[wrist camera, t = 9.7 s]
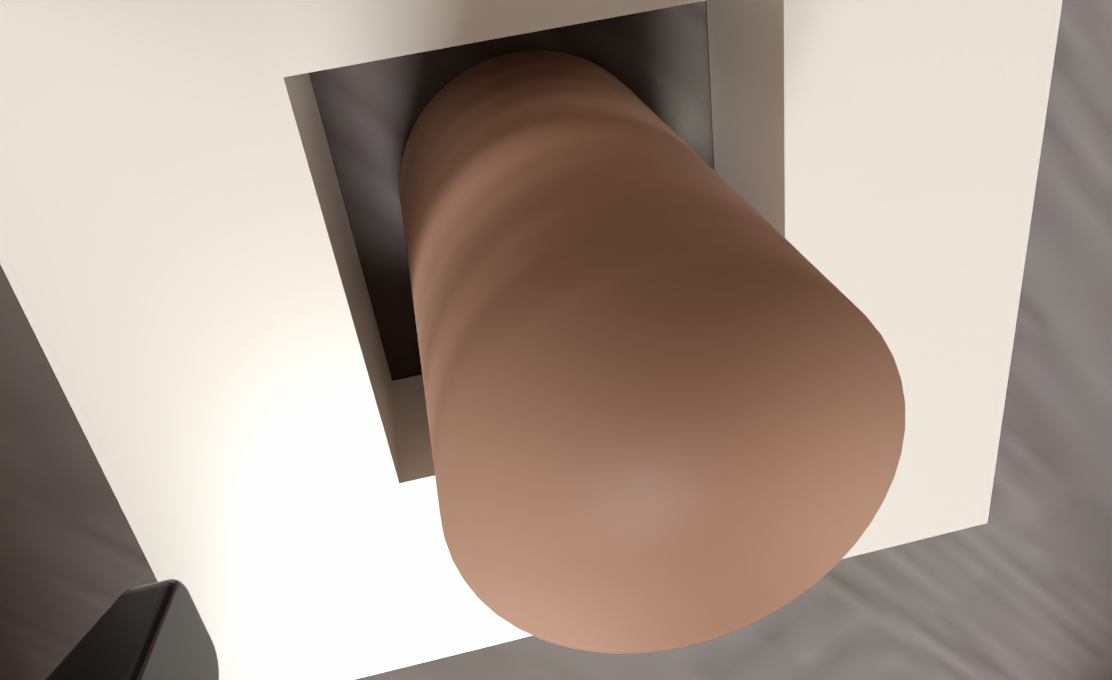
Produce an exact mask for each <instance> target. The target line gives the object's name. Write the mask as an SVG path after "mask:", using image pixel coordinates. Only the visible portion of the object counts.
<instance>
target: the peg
mask: <svg viewBox="0 0 1112 680" xmlns="http://www.w3.org/2000/svg"><path fill="white" fill-rule="evenodd" d="M399 181H400V201H401V208H402V216H403V224H404V232H405V240H406V248H407V256H408V264H409V272H410V280H411V288H412V296H413V304H414V312H415V320H416V328H417V336H418V344H419V352H420V360H421V368H422V376H423V384H424V392H425V400H426V408H427V416H428V424H429V432H430V440H431V447H432V455H433V463H434V471H435V479H436V487H437V495H438V503H439V511H440V517H441V523H442V529H443V535H444V538H445V541H446V544H447V547H448V550H449V552H450V555H451V558H452V560H453V562H454V564H455V566H456V567H457V569H458V571H459V573H460V574H461V576H462V578H463V580H464V581H465V582H466V584H467V585H468V586H469V587H470V588H471V590H472V591H473V592H474V593H475V595H476V596H477V597H478V598H479V599H480V600H481V601H482V602H483V603H484V604H485V605H486V606H488V607H489V608H490V609H491V610H492V611H493V612H494V613H495V614H497V615H498V616H500V617H501V618H503V619H504V620H506V621H507V622H509V623H510V624H512V625H513V626H515V627H516V628H518V629H520V630H522V631H525V632H527V633H529V634H531V635H533V636H535V637H537V638H539V639H543V640H546V641H549V642H552V643H555V644H558V645H561V646H565V647H570V648H575V649H580V650H585V651H592V652H604V653H645V652H654V651H663V650H670V649H675V648H680V647H685V646H689V645H694V644H697V643H701V642H704V641H707V640H711V639H714V638H717V637H721V636H723V635H726V634H728V633H731V632H733V631H736V630H738V629H741V628H743V627H746V626H748V625H750V624H752V623H754V622H756V621H758V620H760V619H762V618H764V617H766V616H768V615H770V614H771V613H773V612H775V611H776V610H778V609H779V608H781V607H783V606H784V605H786V604H788V603H789V602H791V601H792V600H794V599H795V598H797V597H798V596H799V595H801V594H802V593H803V592H805V591H806V590H807V589H809V588H810V587H811V586H813V585H814V584H815V583H817V582H818V581H819V580H820V579H821V578H822V577H823V576H824V575H826V574H827V573H828V572H829V571H830V570H831V569H832V568H833V567H834V566H836V565H837V564H838V562H839V561H840V560H841V559H842V558H843V557H844V556H845V555H846V554H847V553H848V551H849V550H850V549H851V548H852V547H853V546H854V545H855V544H856V542H857V541H858V540H859V538H860V537H861V536H862V534H863V533H864V532H865V530H866V529H867V528H868V526H869V525H870V523H871V522H872V520H873V518H874V517H875V515H876V513H877V512H878V510H879V508H880V507H881V505H882V503H883V501H884V499H885V497H886V495H887V493H888V490H889V488H890V486H891V484H892V481H893V479H894V477H895V473H896V470H897V466H898V463H899V460H900V456H901V453H902V446H903V440H904V433H905V399H904V393H903V387H902V381H901V377H900V374H899V371H898V369H897V366H896V363H895V360H894V357H893V355H892V353H891V351H890V350H889V348H888V346H887V344H886V342H885V340H884V339H883V337H882V335H881V334H880V333H879V331H878V330H877V329H876V328H875V326H874V325H873V324H872V323H871V321H870V320H869V319H868V318H867V317H866V315H865V314H864V313H863V312H862V311H861V310H860V309H858V308H857V307H856V306H855V305H854V304H853V303H852V302H851V301H850V300H849V299H848V298H847V297H846V296H845V295H844V294H843V293H842V292H841V291H840V290H839V289H838V288H837V287H836V286H834V285H833V284H832V283H831V282H830V281H829V280H828V279H827V278H826V277H825V276H824V275H823V274H822V273H821V272H820V271H819V270H818V269H817V268H816V267H815V266H814V265H813V264H811V263H810V262H809V261H808V260H807V259H806V258H805V257H804V256H803V255H802V254H801V253H800V252H799V251H798V250H797V249H796V248H795V247H794V246H793V245H792V244H791V243H790V242H789V241H787V240H786V239H785V238H784V237H783V236H782V235H781V234H780V233H779V232H778V231H777V230H776V229H775V228H774V227H773V226H772V225H771V224H770V223H769V222H768V221H767V220H766V219H765V218H763V217H762V216H761V215H760V214H759V213H758V212H757V211H756V210H755V209H754V208H753V207H752V206H751V205H750V204H749V203H748V202H747V201H746V200H745V199H744V198H743V197H742V196H741V195H739V194H738V193H737V192H736V191H735V190H734V189H733V188H732V187H731V186H730V185H729V184H728V183H727V182H726V181H725V180H724V179H723V178H722V177H721V176H720V175H719V174H718V173H717V172H715V171H714V170H713V169H712V168H711V167H710V166H709V165H708V164H707V163H706V162H705V161H704V160H703V159H702V158H701V157H700V156H699V155H698V154H697V153H696V152H695V151H694V150H692V149H691V148H690V147H689V146H688V145H687V144H686V143H685V142H684V141H683V140H682V139H681V138H680V137H679V136H678V135H677V134H676V133H675V132H674V131H673V130H672V129H671V128H670V127H668V126H667V125H666V124H665V123H664V122H663V121H662V120H661V119H660V118H659V117H658V116H657V115H656V114H655V113H654V112H653V111H652V110H651V109H650V108H649V107H648V106H647V105H646V104H644V103H643V102H642V101H641V100H640V99H639V98H638V97H637V96H636V95H635V94H634V93H633V92H632V91H631V90H630V89H629V88H628V87H627V86H626V85H624V84H623V83H622V82H621V81H620V80H619V79H618V78H617V77H615V76H614V75H613V74H611V73H610V72H608V71H607V70H605V69H604V68H602V67H601V66H599V65H597V64H594V63H592V62H590V61H588V60H586V59H584V58H581V57H577V56H574V55H571V54H568V53H562V52H556V51H549V50H527V51H518V52H511V53H507V54H503V55H499V56H495V57H493V58H490V59H488V60H485V61H483V62H480V63H478V64H476V65H474V66H472V67H470V68H469V69H467V70H465V71H463V72H462V73H460V74H459V75H457V76H456V77H455V78H454V79H452V80H451V81H450V82H448V83H447V84H446V85H445V86H444V87H443V88H442V89H441V90H440V91H439V92H438V93H437V94H436V95H435V96H434V97H433V98H432V99H431V100H430V102H429V103H428V104H427V105H426V107H425V108H424V109H423V111H422V112H421V114H420V115H419V117H418V119H417V121H416V122H415V124H414V126H413V128H412V130H411V133H410V135H409V137H408V140H407V142H406V145H405V149H404V153H403V157H402V161H401V169H400V178H399Z"/></svg>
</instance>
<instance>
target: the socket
mask: <svg viewBox="0 0 1112 680" xmlns="http://www.w3.org/2000/svg"><path fill="white" fill-rule="evenodd" d="M701 1H706V3H707V24H708V46H709V67H710V88H711V109H712V130H713V152H714V171H715V172H717V173H718V174H719V175H720V176H721V177H722V178H723V179H724V180H725V181H726V182H727V183H728V184H729V185H730V186H731V187H732V188H733V189H734V190H735V191H736V192H737V193H738V194H739V195H741V196H742V197H743V198H744V199H745V200H746V201H747V202H748V203H749V204H750V205H751V206H752V207H753V208H754V209H755V210H756V211H757V212H758V213H759V214H760V215H761V216H762V217H763V218H765V219H766V220H767V221H768V222H769V223H770V224H771V225H772V226H773V227H774V228H775V229H776V230H777V231H778V232H779V233H780V234H781V235H782V236H783V237H784V238H785V239H786V240H787V241H789V242H790V243H791V244H792V245H793V246H794V247H795V248H796V249H797V250H798V251H799V252H800V253H801V254H802V255H803V256H804V257H805V258H806V259H807V260H808V261H809V262H810V263H811V264H813V265H814V266H815V267H816V268H817V269H818V270H819V271H820V272H821V273H822V274H823V275H824V276H825V277H826V278H827V279H828V280H829V281H830V282H831V283H832V284H833V285H834V286H836V287H837V288H838V289H839V290H840V291H841V292H842V293H843V294H844V295H845V296H846V297H847V298H848V299H849V300H850V301H851V302H852V303H853V304H854V305H855V306H856V307H857V308H858V309H860V310H861V311H862V312H863V313H864V314H865V315H866V317H867V318H868V319H869V320H870V321H871V323H872V324H873V325H874V326H875V328H876V329H877V330H878V331H879V333H880V334H881V335H882V337H883V339H884V340H885V342H886V344H887V346H888V348H889V350H890V351H891V353H892V355H893V357H894V360H895V363H896V366H897V369H898V371H899V374H900V377H901V381H902V387H903V393H904V399H905V433H904V440H903V446H902V453H901V456H900V460H899V463H898V466H897V470H896V473H895V477H894V479H893V481H892V484H891V486H890V488H889V490H888V493H887V495H886V497H885V499H884V501H883V503H882V505H881V507H880V508H879V510H878V512H877V513H876V515H875V517H874V518H873V520H872V522H871V523H870V525H869V526H868V528H867V529H866V530H865V532H864V533H863V534H862V536H861V537H860V538H859V540H858V541H857V542H856V544H855V545H854V546H853V547H852V548H851V549H850V550H849V551H848V553H847V554H846V555H845V556H844V557H843V558H842V559H844V558H848V557H852V556H856V555H860V554H864V553H868V552H872V551H876V550H880V549H885V548H889V547H893V546H897V545H901V544H905V543H909V542H913V541H917V540H921V539H925V538H929V537H933V536H937V535H941V534H945V533H949V532H953V531H957V530H961V529H965V528H969V527H973V526H977V525H982V524H986V523H987V522H988V515H989V508H990V501H991V494H992V487H993V480H994V473H995V466H996V459H997V452H998V445H999V438H1000V431H1001V425H1002V418H1003V411H1004V404H1005V397H1006V390H1007V383H1008V376H1009V369H1010V362H1011V355H1012V348H1013V341H1014V334H1015V327H1016V320H1017V313H1018V306H1019V299H1020V292H1021V285H1022V278H1023V271H1024V265H1025V258H1026V251H1027V244H1028V237H1029V230H1030V223H1031V216H1032V209H1033V202H1034V195H1035V188H1036V181H1037V174H1038V167H1039V160H1040V153H1041V146H1042V139H1043V132H1044V125H1045V118H1046V111H1047V105H1048V98H1049V91H1050V84H1051V77H1052V70H1053V63H1054V56H1055V49H1056V42H1057V35H1058V28H1059V21H1060V14H1061V7H1062V0H0V264H1V266H2V268H3V270H4V272H5V274H6V276H7V278H8V280H9V282H10V284H11V286H12V288H13V290H14V293H15V295H16V297H17V299H18V301H19V303H20V305H21V307H22V309H23V311H24V313H25V315H26V317H27V319H28V321H29V323H30V325H31V327H32V329H33V331H34V333H35V335H36V337H37V339H38V341H39V343H40V345H41V347H42V349H43V351H44V353H45V355H46V357H47V359H48V361H49V363H50V365H51V367H52V369H53V371H54V373H55V375H56V377H57V379H58V381H59V383H60V385H61V387H62V389H63V391H64V393H65V395H66V397H67V399H68V401H69V403H70V405H71V407H72V409H73V411H74V414H75V416H76V418H77V420H78V422H79V424H80V426H81V428H82V430H83V432H84V434H85V436H86V438H87V440H88V442H89V444H90V446H91V448H92V450H93V452H94V454H95V456H96V458H97V460H98V462H99V464H100V466H101V468H102V470H103V472H104V474H105V476H106V478H107V480H108V482H109V484H110V486H111V488H112V490H113V492H114V494H115V496H116V498H117V500H118V502H119V504H120V506H121V508H122V510H123V512H124V514H125V516H126V518H127V520H128V522H129V524H130V526H131V528H132V530H133V533H134V535H135V537H136V539H137V541H138V543H139V545H140V547H141V549H142V551H143V553H144V555H145V557H146V559H147V561H148V563H149V565H150V567H151V569H152V571H153V573H154V575H155V577H156V579H157V581H158V582H159V581H164V580H168V579H175V580H178V581H181V582H182V583H183V584H184V585H185V587H186V588H187V589H188V591H189V593H190V595H191V597H192V599H193V602H194V604H195V606H196V608H197V610H198V612H199V614H200V616H201V618H202V620H203V623H204V625H205V627H206V629H207V631H208V633H209V635H210V637H211V639H212V642H213V644H214V646H215V650H216V653H217V659H218V666H219V680H355V679H359V678H363V677H367V676H371V675H375V674H379V673H383V672H387V671H391V670H395V669H399V668H403V667H407V666H411V665H416V664H420V663H424V662H428V661H432V660H436V659H440V658H444V657H448V656H452V655H456V654H460V653H464V652H468V651H472V650H476V649H480V648H484V647H488V646H492V645H496V644H500V643H504V642H509V641H513V640H517V639H521V638H525V637H529V636H533V635H531V634H529V633H527V632H525V631H522V630H520V629H518V628H516V627H515V626H513V625H512V624H510V623H509V622H507V621H506V620H504V619H503V618H501V617H500V616H498V615H497V614H495V613H494V612H493V611H492V610H491V609H490V608H489V607H488V606H486V605H485V604H484V603H483V602H482V601H481V600H480V599H479V598H478V597H477V596H476V595H475V593H474V592H473V591H472V590H471V588H470V587H469V586H468V585H467V584H466V582H465V581H464V580H463V578H462V576H461V574H460V573H459V571H458V569H457V567H456V566H455V564H454V562H453V560H452V558H451V555H450V552H449V550H448V547H447V544H446V541H445V538H444V535H443V529H442V523H441V517H440V511H439V503H438V495H437V487H436V479H435V471H434V463H433V455H432V447H431V440H430V432H429V424H428V416H427V408H426V400H425V392H424V384H423V376H422V374H421V375H417V376H412V377H408V378H403V379H398V380H394V381H392V378H391V374H390V371H389V367H388V363H387V360H386V356H385V352H384V349H383V345H382V341H381V337H380V334H379V330H378V326H377V323H376V319H375V315H374V312H373V308H372V304H371V301H370V297H369V293H368V289H367V286H366V282H365V278H364V275H363V271H362V267H361V264H360V260H359V256H358V253H357V249H356V245H355V241H354V238H353V234H352V230H351V227H350V223H349V219H348V216H347V212H346V208H345V205H344V201H343V197H342V193H341V190H340V186H339V182H338V179H337V175H336V171H335V168H334V164H333V160H332V157H331V153H330V149H329V145H328V142H327V138H326V134H325V131H324V127H323V123H322V120H321V116H320V112H319V109H318V105H317V101H316V97H315V94H314V90H313V86H312V83H311V79H310V75H309V73H310V72H316V71H321V70H327V69H332V68H338V67H343V66H349V65H354V64H360V63H365V62H371V61H376V60H382V59H387V58H393V57H398V56H404V55H409V54H415V53H420V52H426V51H431V50H437V49H442V48H448V47H453V46H459V45H464V44H470V43H475V42H481V41H486V40H492V39H497V38H503V37H508V36H514V35H519V34H525V33H530V32H536V31H541V30H547V29H552V28H558V27H563V26H569V25H574V24H580V23H585V22H591V21H596V20H602V19H607V18H613V17H618V16H624V15H629V14H635V13H640V12H646V11H651V10H657V9H662V8H668V7H673V6H679V5H684V4H690V3H695V2H701Z"/></svg>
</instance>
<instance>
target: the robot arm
mask: <svg viewBox="0 0 1112 680" xmlns="http://www.w3.org/2000/svg"><path fill="white" fill-rule="evenodd" d="M46 680H219V666H218V659H217V653H216V650H215V646H214V644H213V642H212V639H211V637H210V635H209V633H208V631H207V629H206V627H205V625H204V623H203V620H202V618H201V616H200V614H199V612H198V610H197V608H196V606H195V604H194V602H193V599H192V597H191V595H190V593H189V591H188V589H187V588H186V587H185V585H184V584H183V583H182V582H181V581H178V580H175V579H168V580H164V581H159V582H155V583H151V584H146V585H142V586H138V587H134V588H132V589H129V590H127V591H126V592H124V593H123V594H122V595H121V596H120V597H119V598H118V599H117V600H116V601H115V603H114V604H113V605H112V606H111V607H110V608H109V609H108V610H107V612H106V613H105V614H104V615H103V616H102V617H101V618H100V619H99V621H98V622H97V623H96V624H95V625H94V626H93V627H92V628H91V629H90V631H89V632H88V633H87V634H86V635H85V636H84V637H83V638H82V640H81V641H80V642H79V643H78V644H77V645H76V646H75V647H74V649H73V650H72V651H71V652H70V653H69V654H68V655H67V656H66V658H65V659H64V660H63V661H62V662H61V663H60V664H59V665H58V666H57V668H56V669H55V670H54V671H53V672H52V673H51V674H50V675H49V677H48V678H47V679H46Z"/></svg>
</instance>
